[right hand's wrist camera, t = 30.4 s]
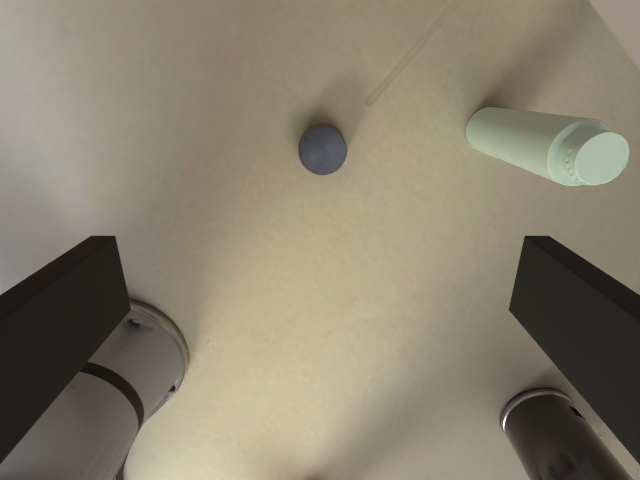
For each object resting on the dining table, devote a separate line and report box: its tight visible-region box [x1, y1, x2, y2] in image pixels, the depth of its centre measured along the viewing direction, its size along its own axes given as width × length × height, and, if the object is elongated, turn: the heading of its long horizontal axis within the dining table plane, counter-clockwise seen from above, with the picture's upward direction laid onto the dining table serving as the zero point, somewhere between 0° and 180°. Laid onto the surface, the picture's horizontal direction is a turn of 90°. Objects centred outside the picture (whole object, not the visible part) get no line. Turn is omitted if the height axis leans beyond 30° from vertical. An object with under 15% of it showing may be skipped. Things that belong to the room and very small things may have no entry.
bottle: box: [466, 107, 630, 186], centre depth 29 cm, size 4×4×16 cm
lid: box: [299, 124, 347, 175], centre depth 36 cm, size 4×4×2 cm
